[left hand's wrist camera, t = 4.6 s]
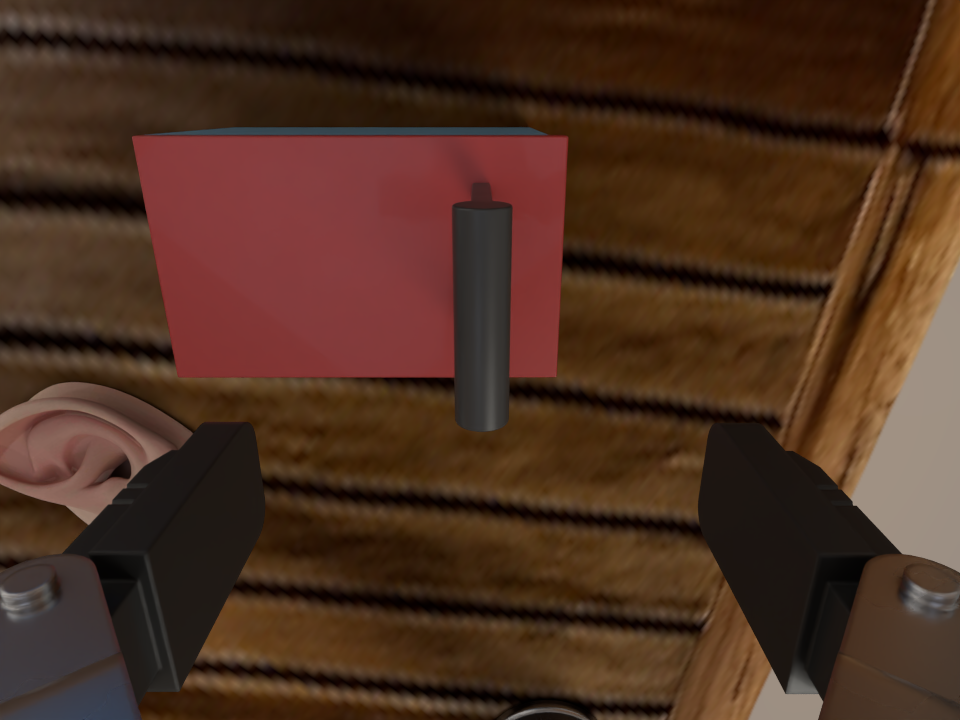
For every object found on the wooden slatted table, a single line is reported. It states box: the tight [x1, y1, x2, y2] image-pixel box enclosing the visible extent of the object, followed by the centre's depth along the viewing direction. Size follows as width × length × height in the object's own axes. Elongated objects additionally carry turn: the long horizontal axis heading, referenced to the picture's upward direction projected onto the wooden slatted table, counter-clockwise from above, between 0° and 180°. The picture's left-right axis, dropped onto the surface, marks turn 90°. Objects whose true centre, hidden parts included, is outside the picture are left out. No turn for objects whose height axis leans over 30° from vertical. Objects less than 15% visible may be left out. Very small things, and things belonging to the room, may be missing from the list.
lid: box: [132, 135, 568, 432], centre depth 22 cm, size 16×10×9 cm, turn 90°
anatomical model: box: [0, 382, 193, 525], centre depth 39 cm, size 13×4×12 cm
